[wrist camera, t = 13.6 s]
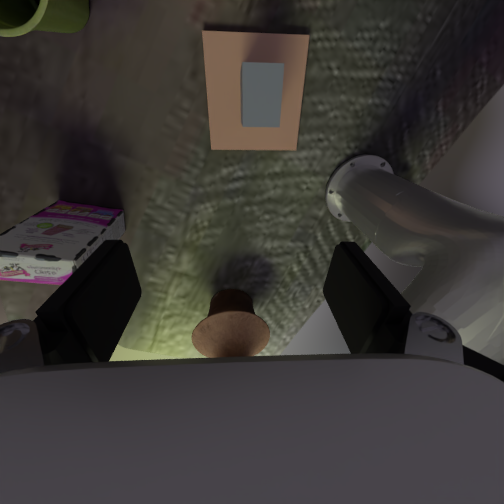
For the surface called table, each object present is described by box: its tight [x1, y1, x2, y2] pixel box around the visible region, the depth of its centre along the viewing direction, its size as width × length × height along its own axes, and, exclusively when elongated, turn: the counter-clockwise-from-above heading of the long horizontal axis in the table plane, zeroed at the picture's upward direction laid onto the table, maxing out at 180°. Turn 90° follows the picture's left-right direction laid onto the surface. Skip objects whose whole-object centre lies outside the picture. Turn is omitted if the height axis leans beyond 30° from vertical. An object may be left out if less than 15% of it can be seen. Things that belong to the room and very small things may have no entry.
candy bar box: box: [0, 200, 125, 285], centre depth 35 cm, size 11×5×16 cm, turn 79°
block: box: [240, 62, 284, 127], centre depth 29 cm, size 4×6×9 cm
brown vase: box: [192, 289, 270, 358], centre depth 46 cm, size 18×17×28 cm
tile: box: [202, 31, 309, 150], centre depth 33 cm, size 14×14×1 cm
